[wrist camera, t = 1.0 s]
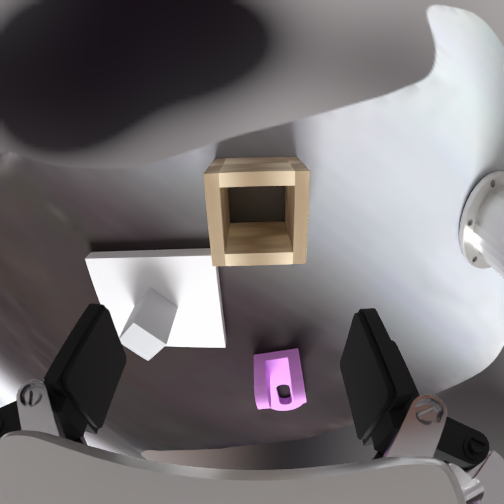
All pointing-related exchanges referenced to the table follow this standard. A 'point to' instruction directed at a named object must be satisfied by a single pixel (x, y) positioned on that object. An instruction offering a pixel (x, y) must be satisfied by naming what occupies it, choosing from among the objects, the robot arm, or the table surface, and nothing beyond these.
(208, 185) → the wooden collar
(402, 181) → the table surface
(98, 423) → the robot arm
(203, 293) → the plate
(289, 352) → the bracket
